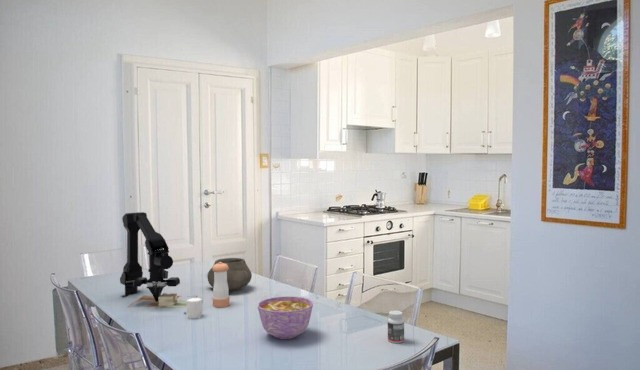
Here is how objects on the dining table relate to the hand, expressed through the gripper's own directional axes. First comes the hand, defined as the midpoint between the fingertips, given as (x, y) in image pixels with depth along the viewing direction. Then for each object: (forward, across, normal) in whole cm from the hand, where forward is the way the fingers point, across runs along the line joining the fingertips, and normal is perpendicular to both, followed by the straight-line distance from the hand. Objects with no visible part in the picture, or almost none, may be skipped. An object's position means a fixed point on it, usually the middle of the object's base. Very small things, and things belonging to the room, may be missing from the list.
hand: (157, 301), depth 222 cm
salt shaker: (+3, -27, -4) cm, 27 cm away
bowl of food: (+3, -60, +34) cm, 69 cm away
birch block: (+1, -5, 0) cm, 5 cm away
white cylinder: (+3, -20, +12) cm, 24 cm away
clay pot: (+3, -25, -30) cm, 39 cm away
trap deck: (+3, -1, -5) cm, 5 cm away
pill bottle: (+3, -99, +39) cm, 107 cm away
